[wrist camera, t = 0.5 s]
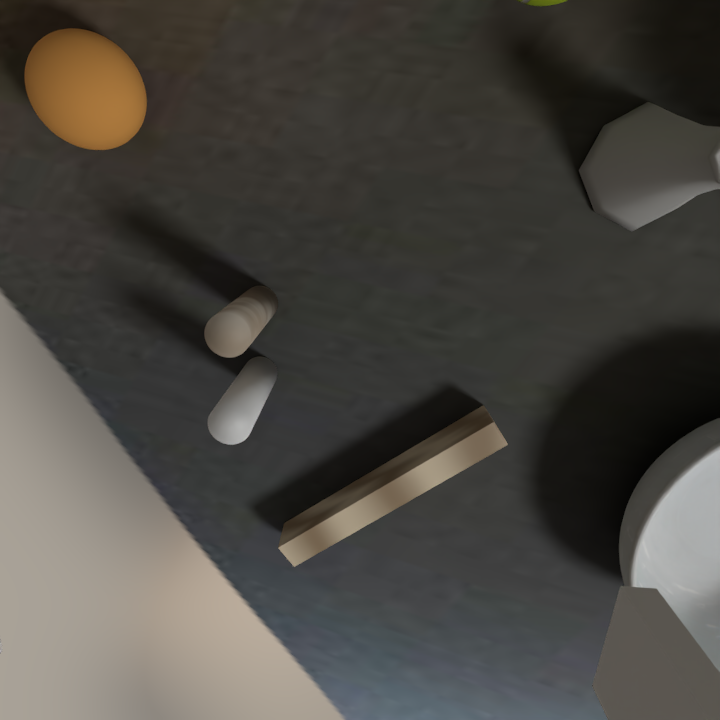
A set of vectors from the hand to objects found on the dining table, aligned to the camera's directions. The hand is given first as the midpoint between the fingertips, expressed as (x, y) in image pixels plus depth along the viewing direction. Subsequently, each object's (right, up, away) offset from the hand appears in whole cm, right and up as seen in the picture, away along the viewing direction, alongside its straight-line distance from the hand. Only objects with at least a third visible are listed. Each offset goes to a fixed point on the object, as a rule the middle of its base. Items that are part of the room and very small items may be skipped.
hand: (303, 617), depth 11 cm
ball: (-14, +20, +18) cm, 30 cm away
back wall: (+3, -3, +28) cm, 29 cm away
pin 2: (-6, +4, +26) cm, 27 cm away
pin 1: (-6, +9, +24) cm, 27 cm away
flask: (+19, +18, +22) cm, 34 cm away
